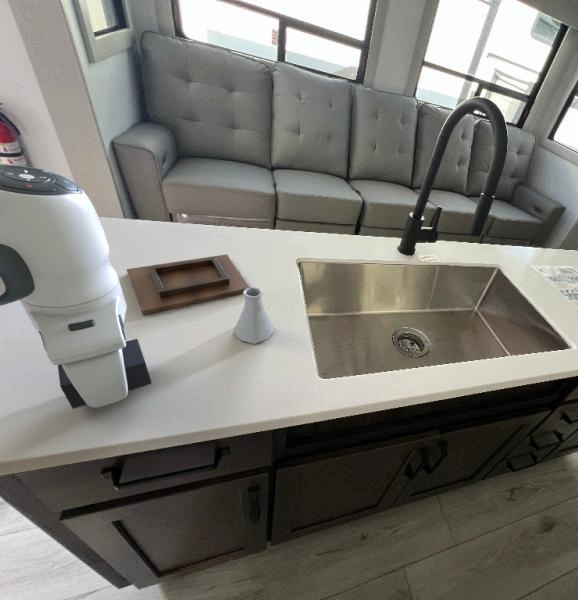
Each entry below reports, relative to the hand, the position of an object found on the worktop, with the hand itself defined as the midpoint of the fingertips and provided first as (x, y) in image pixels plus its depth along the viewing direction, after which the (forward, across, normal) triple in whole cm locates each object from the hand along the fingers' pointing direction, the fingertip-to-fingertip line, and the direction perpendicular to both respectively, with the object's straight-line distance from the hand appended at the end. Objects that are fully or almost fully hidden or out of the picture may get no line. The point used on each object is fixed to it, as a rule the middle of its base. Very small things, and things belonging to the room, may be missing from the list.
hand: (108, 375), depth 49 cm
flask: (+3, -3, +22) cm, 23 cm away
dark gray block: (+2, 0, 0) cm, 2 cm away
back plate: (+3, -23, +16) cm, 28 cm away
